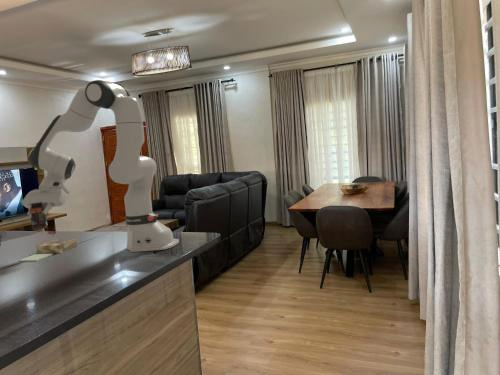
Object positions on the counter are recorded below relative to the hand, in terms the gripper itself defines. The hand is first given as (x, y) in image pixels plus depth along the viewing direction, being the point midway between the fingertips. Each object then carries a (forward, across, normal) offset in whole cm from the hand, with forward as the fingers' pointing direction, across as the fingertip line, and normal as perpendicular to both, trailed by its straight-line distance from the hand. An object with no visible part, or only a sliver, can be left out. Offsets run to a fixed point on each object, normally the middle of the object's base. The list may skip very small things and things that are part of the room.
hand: (36, 214), depth 166 cm
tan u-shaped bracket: (+7, 0, +19) cm, 20 cm away
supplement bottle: (+4, 0, +5) cm, 7 cm away
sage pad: (+16, 0, +10) cm, 19 cm away
